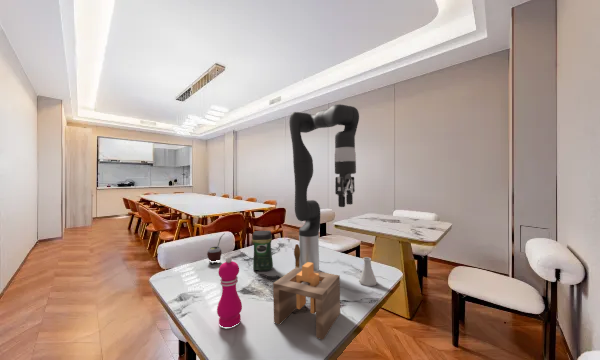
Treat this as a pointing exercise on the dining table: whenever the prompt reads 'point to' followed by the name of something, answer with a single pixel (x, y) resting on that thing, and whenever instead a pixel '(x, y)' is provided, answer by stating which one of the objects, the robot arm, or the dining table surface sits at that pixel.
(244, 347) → the dining table surface
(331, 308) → the brown square frame
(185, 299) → the dining table surface
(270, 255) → the coffee jar
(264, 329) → the dining table surface
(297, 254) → the hand bell
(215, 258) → the mate gourd
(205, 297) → the dining table surface
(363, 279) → the flask
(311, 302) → the stepped orange block
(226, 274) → the pepper mill
